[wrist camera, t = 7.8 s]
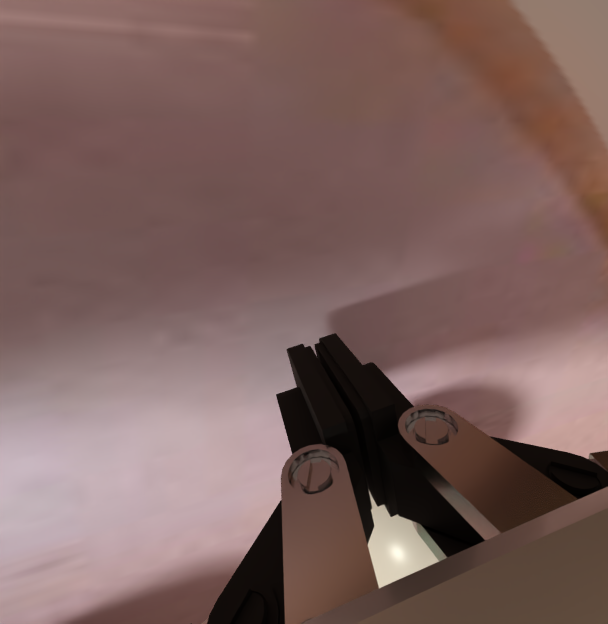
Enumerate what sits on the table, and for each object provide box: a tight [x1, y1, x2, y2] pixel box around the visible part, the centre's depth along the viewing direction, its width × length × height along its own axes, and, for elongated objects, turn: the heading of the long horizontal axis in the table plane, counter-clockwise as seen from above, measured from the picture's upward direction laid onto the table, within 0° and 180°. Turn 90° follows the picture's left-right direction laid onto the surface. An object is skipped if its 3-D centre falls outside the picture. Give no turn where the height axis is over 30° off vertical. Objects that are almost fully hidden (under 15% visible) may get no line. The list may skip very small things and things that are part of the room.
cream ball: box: [368, 489, 439, 588], centre depth 12 cm, size 6×6×6 cm
